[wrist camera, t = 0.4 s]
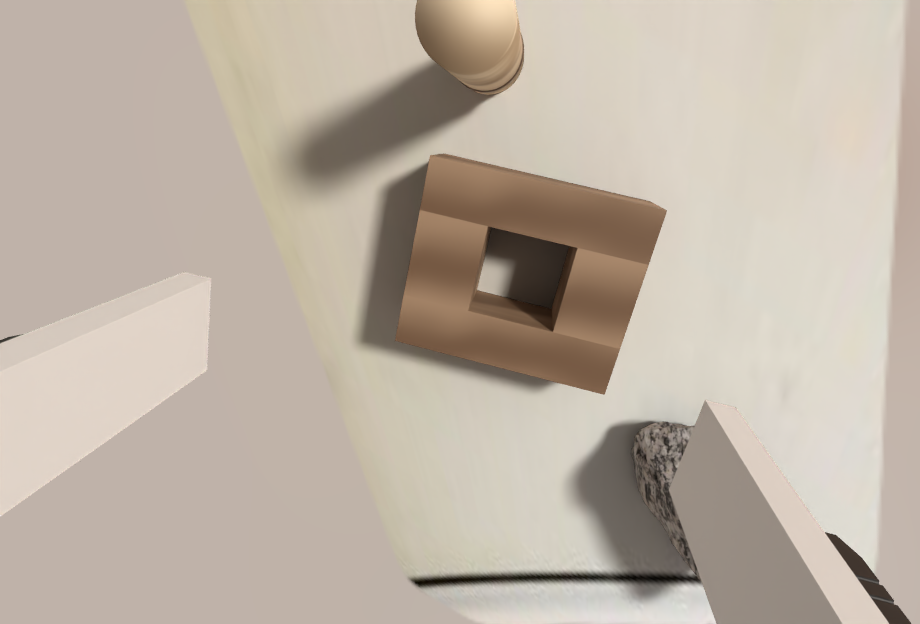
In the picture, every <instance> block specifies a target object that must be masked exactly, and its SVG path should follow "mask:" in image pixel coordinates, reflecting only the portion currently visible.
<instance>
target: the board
mask: <svg viewBox="0 0 920 624" xmlns="http://www.w3.org/2000/svg"><path fill="white" fill-rule="evenodd" d="M666 212H667V210H665V209H663V208H661V207H659V206H657V205H656V204H654V203H652V202H650V201H646V200H641V199H637V198H633V197H629V196H624V195H620V194H616V193H611V192H607V191H603V190H598V189H594V188H590V187H586V186H581V185H577V184H573V183H568V182H564V181H560V180H555V179H551V178H547V177H543V176H538V175H534V174H530V173H525V172H521V171H517V170H512V169H508V168H504V167H500V166H495V165H491V164H487V163H482V162H478V161H474V160H469V159H465V158H461V157H457V156H452V155H448V154H438V155H430V159H429V164H428V169H427V174H426V180H425V185H424V190H423V195H422V201H421V206H420V211H419V217H418V222H417V227H416V232H415V238H414V243H413V248H412V253H411V259H410V264H409V269H408V274H407V280H406V285H405V290H404V296H403V301H402V306H401V311H400V317H399V322H398V327H397V332H396V338H395V341H398V342H402V343H406V344H410V345H414V346H417V347H421V348H425V349H429V350H433V351H437V352H441V353H445V354H448V355H452V356H456V357H460V358H464V359H468V360H472V361H476V362H480V363H483V364H487V365H491V366H495V367H499V368H503V369H507V370H511V371H514V372H518V373H522V374H526V375H530V376H534V377H538V378H542V379H546V380H549V381H553V382H557V383H561V384H565V385H569V386H573V387H577V388H580V389H584V390H588V391H592V392H596V393H600V394H605V392H606V389H607V386H608V383H609V380H610V377H611V374H612V371H613V368H614V365H615V362H616V359H617V356H618V353H619V350H620V347H621V344H622V341H623V339H624V336H625V333H626V330H627V327H628V324H629V321H630V318H631V315H632V312H633V309H634V306H635V303H636V300H637V297H638V294H639V291H640V288H641V286H642V283H643V280H644V277H645V274H646V271H647V268H648V265H649V262H650V259H651V256H652V253H653V250H654V247H655V244H656V241H657V238H658V235H659V233H660V230H661V227H662V224H663V221H664V218H665V215H666ZM492 227H493V228H497V229H501V230H505V231H509V232H514V233H518V234H522V235H526V236H530V237H534V238H539V239H543V240H547V241H551V242H555V243H559V244H564V245H568V246H569V249H568V253H567V256H566V260H565V263H564V267H563V270H562V274H561V277H560V281H559V284H558V288H557V291H556V295H555V298H554V302H553V305H552V308H551V309H550V308H546V307H542V306H538V305H534V304H530V303H526V302H522V301H518V300H514V299H510V298H506V297H502V296H498V295H494V294H490V293H486V292H482V291H477V287H478V283H479V279H480V274H481V270H482V266H483V262H484V257H485V253H486V249H487V245H488V240H489V236H490V232H491V228H492Z"/></svg>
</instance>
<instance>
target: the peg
mask: <svg viewBox="0 0 920 624" xmlns="http://www.w3.org/2000/svg"><path fill="white" fill-rule="evenodd" d="M415 23H416V30H417V34H418V37H419V40H420V42H421V44H422V46H423V48H424V50H425V51H426V52H427V54H428V55H429V56H430V57H431V58H432V59H433V60H434V61H435V62H436V63H437V64H439V65H440V66H441V67H443V68H444V69H445V70H447V71H448V72H449V73H451V74H452V75H453V76H454V77H456V78H457V79H458V80H459V81H460V82H461V83H462V84H463V85H465V86H466V87H468V88H469V89H471V90H473V91H475V92H477V93H480V94H486V95H491V94H497V93H500V92H502V91H505V90H506V89H508V88H509V87H510V86H511V85H512V84H513V83H514V82H515V81H516V80H517V78H518V76H519V75H520V72H521V70H522V67H523V62H524V44H523V38H522V35H521V32H520V26H519V20H518V15H517V9H516V3H515V0H417V4H416V10H415Z"/></svg>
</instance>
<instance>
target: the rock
mask: <svg viewBox="0 0 920 624" xmlns="http://www.w3.org/2000/svg"><path fill="white" fill-rule="evenodd" d="M693 429H694V426H683V425H681V424H671V423H668V422H658V423H653V424H650V425H649V426H647V427H644V428H643V429H640V431H639V433H637V435H636V436H635V437H634V438H635V443H634V446H633V448H632V449H631V455H632V458H633V460H634V465H635V474H636V479H637V485H638V489H639V491H640V493H641V495H642V498H643V500H644V503H645V504H646V505H647V506H648V508H649V509H650V510H651V512H652V513H653V514H654V515H655V516H656V517H657V518H658V520H659V521H660V522H661V523H662V525H663V527H664V528H665V530H666V531H667V533H668V535H669V537H670V540H671V542H672V544H673V546H675V547H676V549H677V551H678V552H679V554H680V555H681V556H682V558H683V560H684V561H686V563H687V564H688V565H689V567H690V568H691V569H692V570H693V572H694V573H695V574H696V575H697V577H698V579H699V580H700V581H701V578H700V576H699V573H698V570H697V567H696V564H695V562H694V559H693V556H692V553H691V550H690V548H689V545H688V542H687V539H686V536H685V534H684V531H683V528H682V525H681V522H680V519H679V517H678V514H677V511H676V508H675V505H674V503H673V500H672V497H671V494H670V491H669V488H670V486H671V483H672V481H673V478H674V476H675V473H676V471H677V468H678V466H679V464H680V461H681V459H682V456H683V454H684V451H685V449H686V446H687V444H688V441H689V439H690V436H691V434H692V431H693ZM701 582H702V581H701Z"/></svg>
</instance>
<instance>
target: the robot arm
mask: <svg viewBox="0 0 920 624" xmlns="http://www.w3.org/2000/svg"><path fill="white" fill-rule="evenodd" d="M210 293H211V278H207V277H203V276H199V275H195V274H190V273H187V272H183V273H180V274H178V275H175V276H173V277H170V278H167V279H165V280H162V281H160V282H158V283H154V284H152V285H150V286H147V287H144V288H142V289H139V290H137V291H134V292H131V293H129V294H126V295H124V296H121V297H118V298H116V299H113V300H111V301H108V302H105V303H103V304H100V305H98V306H95V307H93V308H90V309H87V310H85V311H82V312H80V313H77V314H75V315H72V316H70V317H67V318H64V319H62V320H59V321H57V322H54V323H51V324H49V325H46V326H44V327H41V328H39V329H36V330H33V331H31V332H28V333H26V334H22V335H17V336H12V337H8V338H5V339H3V340H0V516H2V515H3V514H4V513H6V512H7V511H9V510H10V509H11V508H13V507H14V506H16V505H17V504H19V503H20V502H21V501H23V500H24V499H26V498H27V497H28V496H30V495H31V494H33V493H34V492H35V491H37V490H38V489H40V488H41V487H43V486H44V485H45V484H47V483H48V482H50V481H51V480H52V479H54V478H55V477H56V476H58V475H59V474H61V473H62V472H64V471H65V470H66V469H68V468H69V467H71V466H72V465H74V464H75V463H77V462H78V461H79V460H81V459H82V458H84V457H85V456H86V455H88V454H89V453H91V452H92V451H93V450H95V449H96V448H98V447H99V446H101V445H102V444H103V443H105V442H106V441H107V440H109V439H110V438H112V437H113V436H115V435H116V434H117V433H119V432H120V431H122V430H123V429H124V428H126V427H127V426H129V425H130V424H131V423H133V422H134V421H136V420H137V419H139V418H140V417H141V416H143V415H144V414H146V413H147V412H148V411H150V410H151V409H153V408H154V407H156V406H157V405H158V404H160V403H161V402H163V401H164V400H166V399H167V398H168V397H170V396H171V395H173V394H174V393H175V392H176V391H178V390H180V389H181V388H182V387H184V386H185V385H186V384H188V383H190V382H191V381H192V380H194V379H195V378H197V377H198V376H199V375H201V374H202V373H204V372H205V371H207V356H208V335H209V315H210V313H209V312H210ZM669 491H670V494H671V497H672V500H673V503H674V505H675V508H676V511H677V514H678V517H679V519H680V522H681V525H682V528H683V531H684V534H685V536H686V539H687V542H688V545H689V548H690V550H691V553H692V556H693V559H694V562H695V564H696V567H697V570H698V573H699V576H700V578H701V581H702V584H703V587H704V590H705V592H706V595H707V598H708V601H709V604H710V606H711V609H712V612H713V615H714V618H715V620H716V623H717V624H911V622H910V621H909V620H908V619H907V617H906V616H905V615H904V613H903V612H902V611H901V609H900V608H899V607H898V606H897V605H894V603H893V602H894V600H893V599H892V597H891V596H890V595H889V593H888V592H887V591H886V589H885V588H884V587H883V586H882V585H879V580H878V579H877V577H876V576H875V575H874V573H873V572H872V571H871V569H870V568H869V567H868V565H867V564H866V563H865V561H864V560H863V559H862V558H861V557H860V556H859V555H858V554H857V553H856V552H855V551H853V550H852V549H851V548H850V547H849V546H848V545H847V544H845V543H844V542H843V541H842V540H841V539H840V538H839V537H837V536H836V535H833V534H829V533H826V532H824V531H823V529H822V528H821V527H820V525H819V524H818V522H817V521H816V520H815V518H814V517H813V515H812V514H811V513H810V511H809V510H808V508H807V507H806V506H805V504H804V503H803V501H802V500H801V498H800V497H799V496H798V494H797V493H796V491H795V490H794V489H793V487H792V486H791V484H790V483H789V482H788V480H787V479H786V477H785V476H784V474H783V473H782V472H781V470H780V469H779V467H778V466H777V465H776V463H775V462H774V460H773V459H772V458H771V456H770V455H769V453H768V452H767V450H766V449H765V448H764V446H763V445H762V443H761V442H760V441H759V439H758V438H757V436H756V435H755V434H754V432H753V431H752V429H751V428H750V426H749V425H748V424H747V422H746V421H745V419H744V418H743V417H742V415H741V414H740V412H739V411H738V410H737V408H736V407H732V406H728V405H724V404H720V403H715V402H711V401H707V400H705V402H704V404H703V407H702V409H701V412H700V414H699V417H698V419H697V422H696V424H695V426H694V429H693V431H692V434H691V436H690V439H689V441H688V444H687V446H686V449H685V451H684V454H683V456H682V459H681V461H680V464H679V466H678V468H677V471H676V473H675V476H674V478H673V481H672V483H671V486H670V488H669Z"/></svg>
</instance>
